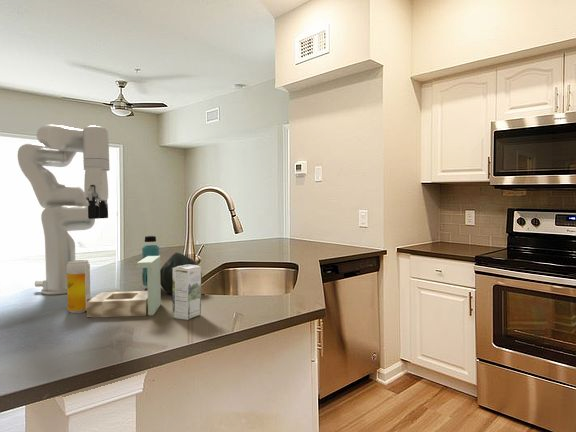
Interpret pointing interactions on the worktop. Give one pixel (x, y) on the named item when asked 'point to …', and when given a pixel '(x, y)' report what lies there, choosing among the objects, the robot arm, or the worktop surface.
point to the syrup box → (186, 291)
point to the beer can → (78, 285)
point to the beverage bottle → (149, 254)
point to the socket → (118, 304)
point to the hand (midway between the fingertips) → (98, 218)
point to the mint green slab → (152, 281)
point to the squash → (167, 270)
